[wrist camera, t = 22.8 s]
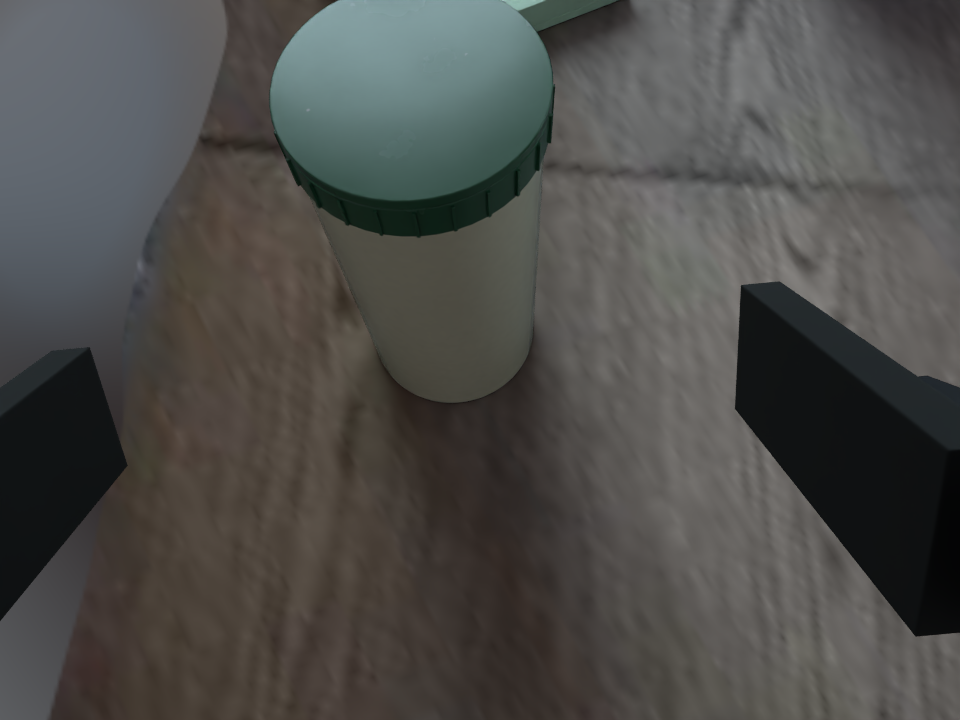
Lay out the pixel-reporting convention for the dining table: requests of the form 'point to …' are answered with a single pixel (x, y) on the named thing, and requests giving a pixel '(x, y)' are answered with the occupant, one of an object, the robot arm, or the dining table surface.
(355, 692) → the dining table surface
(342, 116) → the lid
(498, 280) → the jar
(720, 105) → the dining table surface
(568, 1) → the tray
